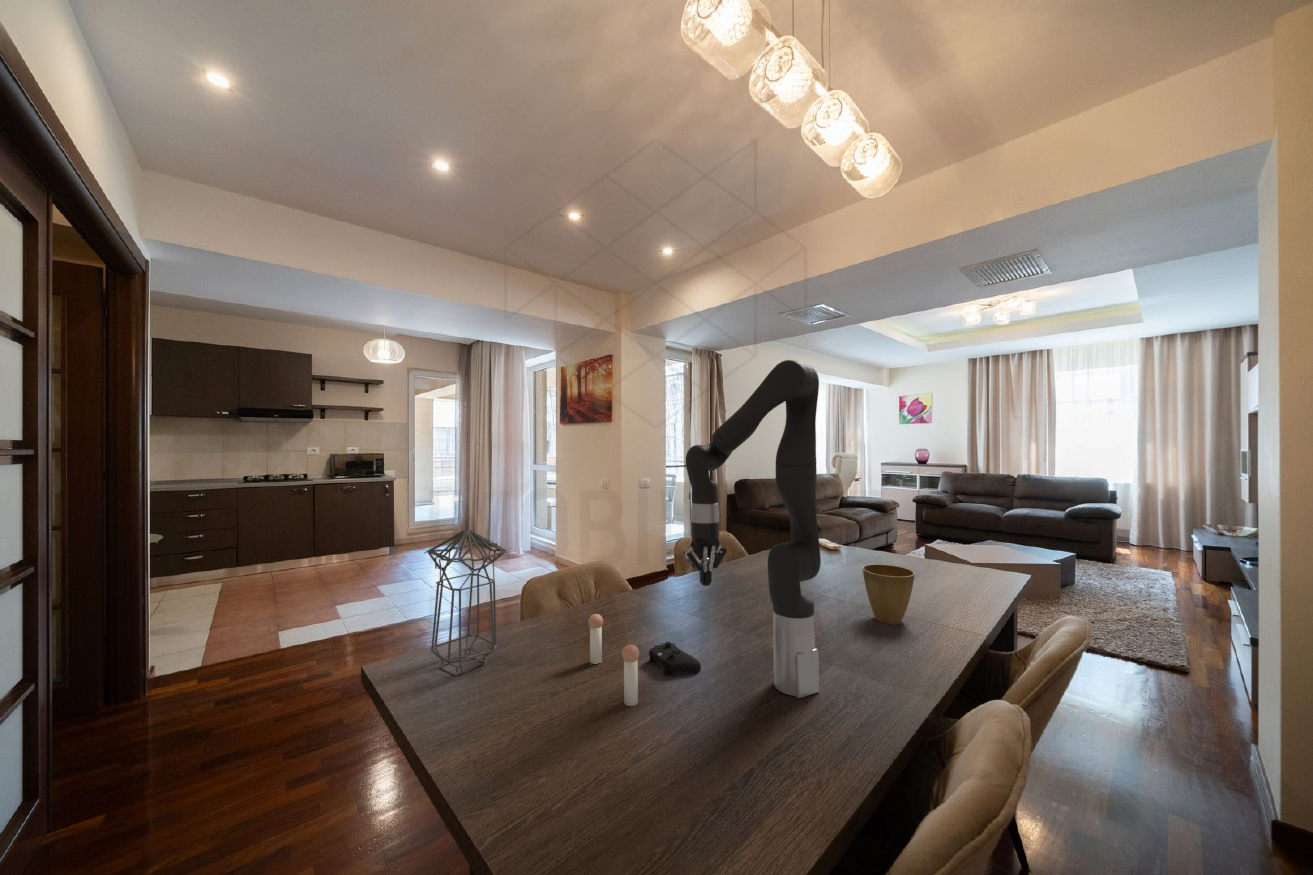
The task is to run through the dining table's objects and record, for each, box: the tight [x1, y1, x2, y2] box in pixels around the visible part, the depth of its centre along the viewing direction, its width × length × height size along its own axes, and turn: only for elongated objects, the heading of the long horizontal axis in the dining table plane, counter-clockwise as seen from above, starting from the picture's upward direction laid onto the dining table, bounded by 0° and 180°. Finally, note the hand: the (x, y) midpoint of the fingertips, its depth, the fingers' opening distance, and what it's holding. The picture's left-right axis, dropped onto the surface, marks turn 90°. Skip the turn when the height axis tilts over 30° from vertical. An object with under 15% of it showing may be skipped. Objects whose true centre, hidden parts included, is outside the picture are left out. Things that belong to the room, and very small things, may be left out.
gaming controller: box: [648, 641, 702, 677], centre depth 121 cm, size 14×6×10 cm
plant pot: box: [862, 563, 916, 625], centre depth 151 cm, size 15×15×16 cm
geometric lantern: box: [424, 529, 508, 673], centre depth 122 cm, size 16×16×35 cm
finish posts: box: [588, 613, 640, 707], centre depth 114 cm, size 26×4×12 cm, turn 27°
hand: (705, 584), depth 126 cm, fingers closed
